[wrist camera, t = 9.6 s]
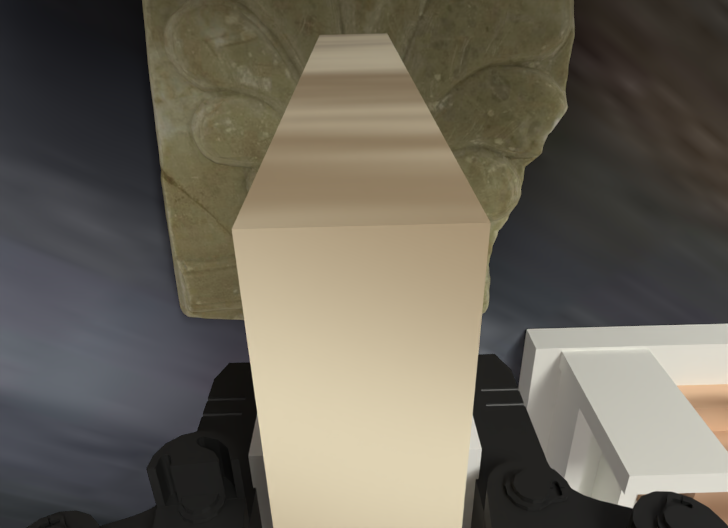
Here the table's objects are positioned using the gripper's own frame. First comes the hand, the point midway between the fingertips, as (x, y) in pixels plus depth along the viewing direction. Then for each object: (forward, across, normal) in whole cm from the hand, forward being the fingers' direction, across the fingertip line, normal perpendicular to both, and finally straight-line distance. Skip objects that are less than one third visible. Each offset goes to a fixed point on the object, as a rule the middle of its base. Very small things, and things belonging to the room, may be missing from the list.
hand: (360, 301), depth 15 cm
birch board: (+5, 0, 0) cm, 5 cm away
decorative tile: (+16, 0, 0) cm, 16 cm away
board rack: (+16, +17, -20) cm, 31 cm away
